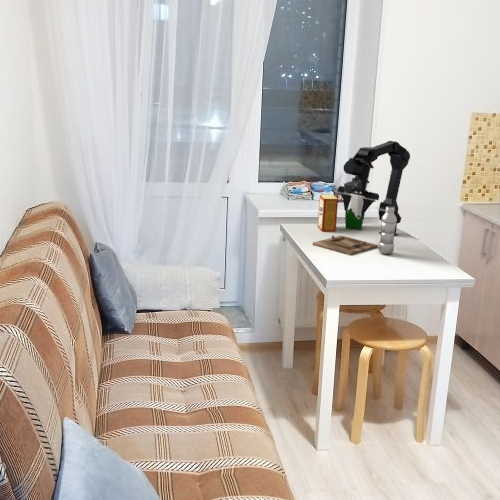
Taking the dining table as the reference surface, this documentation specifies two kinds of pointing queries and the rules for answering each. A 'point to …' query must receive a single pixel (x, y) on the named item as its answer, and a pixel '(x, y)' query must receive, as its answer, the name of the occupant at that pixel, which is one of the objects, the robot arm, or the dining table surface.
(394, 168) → the robot arm
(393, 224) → the plastic bottle
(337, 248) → the walnut bottle stand
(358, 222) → the milk carton
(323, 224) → the baking soda box
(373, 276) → the dining table surface
